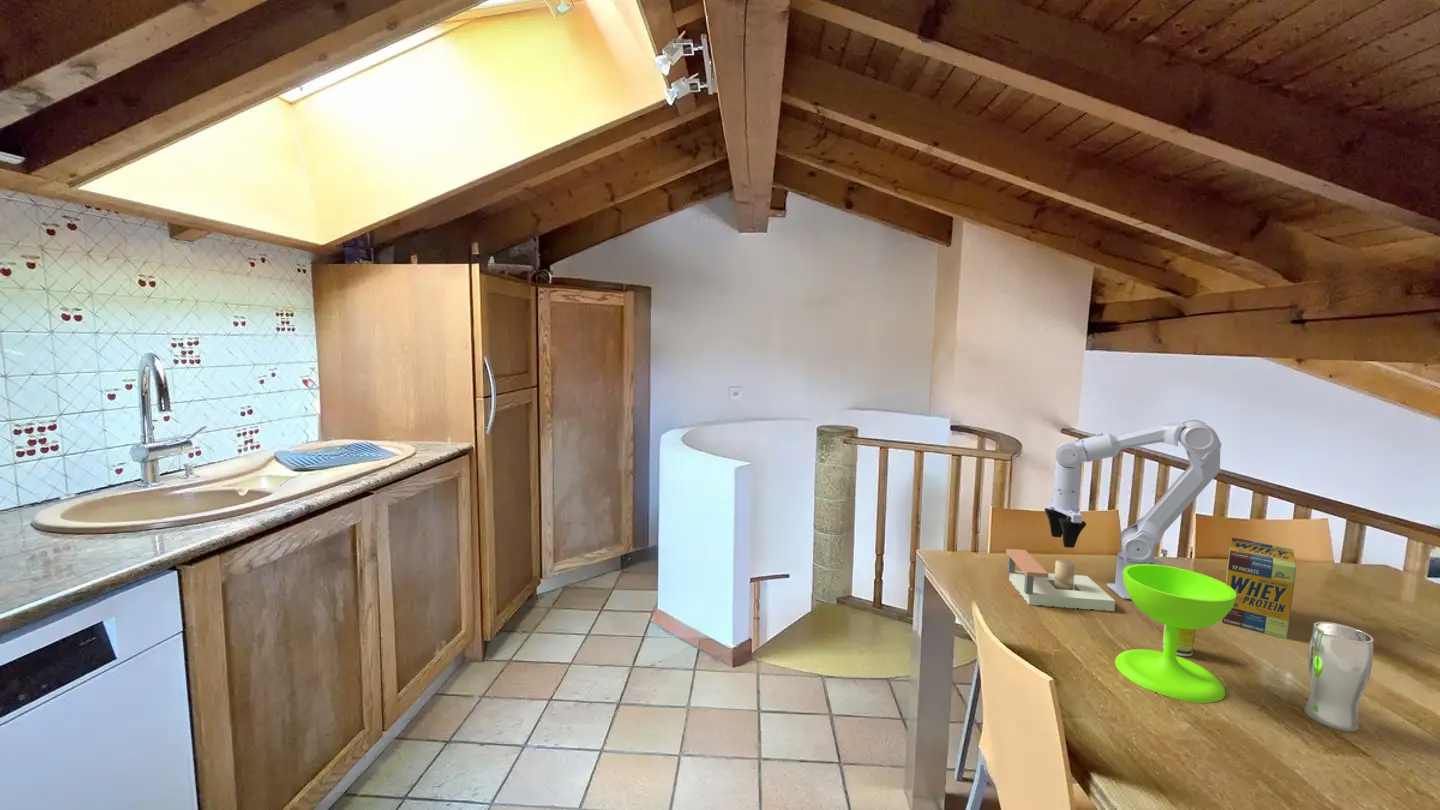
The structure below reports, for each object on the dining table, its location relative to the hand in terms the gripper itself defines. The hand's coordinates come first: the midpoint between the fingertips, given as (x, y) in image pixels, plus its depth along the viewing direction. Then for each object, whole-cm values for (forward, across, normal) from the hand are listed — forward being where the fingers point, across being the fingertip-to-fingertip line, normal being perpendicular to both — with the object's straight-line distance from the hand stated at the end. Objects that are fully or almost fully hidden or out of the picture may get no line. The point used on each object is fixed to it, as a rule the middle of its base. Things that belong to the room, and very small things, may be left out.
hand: (1062, 541), depth 147 cm
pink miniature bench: (+7, +10, -12) cm, 17 cm away
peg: (+10, +10, -3) cm, 14 cm away
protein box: (+10, +15, +34) cm, 39 cm away
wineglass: (+10, +43, +2) cm, 44 cm away
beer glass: (+10, +52, +21) cm, 57 cm away
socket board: (+10, +10, -4) cm, 15 cm away
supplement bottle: (+10, +33, +9) cm, 36 cm away
